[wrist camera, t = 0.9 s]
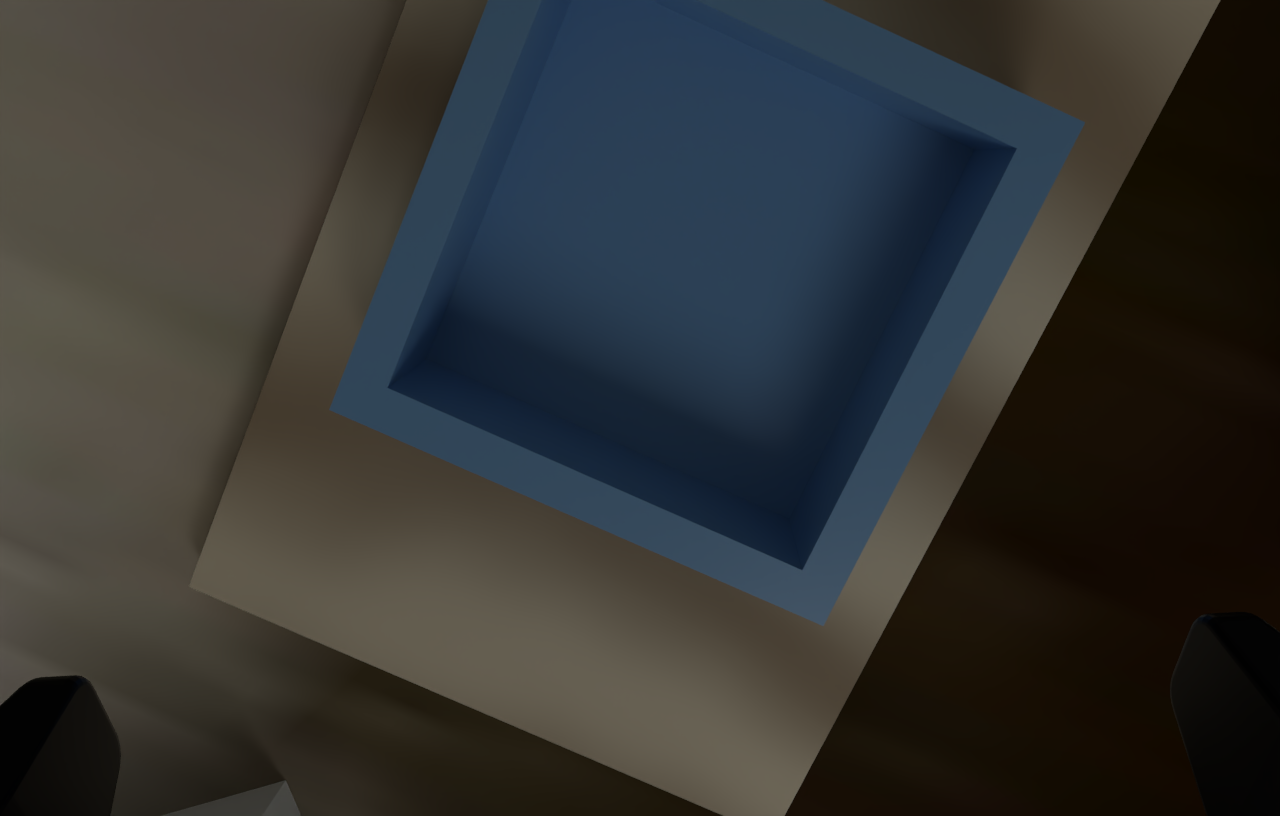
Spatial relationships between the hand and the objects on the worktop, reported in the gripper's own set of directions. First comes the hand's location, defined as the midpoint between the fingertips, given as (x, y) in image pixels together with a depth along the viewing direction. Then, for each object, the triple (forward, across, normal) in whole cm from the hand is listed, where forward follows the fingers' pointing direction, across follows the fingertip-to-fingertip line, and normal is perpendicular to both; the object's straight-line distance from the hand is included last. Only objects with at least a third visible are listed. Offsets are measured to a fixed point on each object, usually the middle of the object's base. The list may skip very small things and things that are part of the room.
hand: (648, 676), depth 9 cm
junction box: (+14, -2, +4) cm, 14 cm away
